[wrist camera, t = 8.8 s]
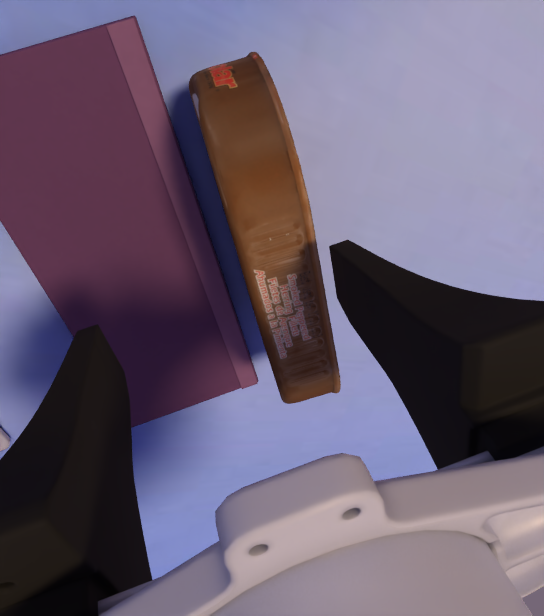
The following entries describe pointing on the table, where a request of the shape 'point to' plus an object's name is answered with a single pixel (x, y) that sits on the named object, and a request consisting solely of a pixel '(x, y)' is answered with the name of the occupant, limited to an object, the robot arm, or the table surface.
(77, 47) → the purple rectangular board
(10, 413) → the table surface
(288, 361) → the tin
